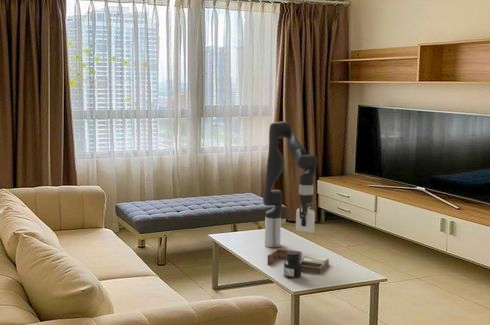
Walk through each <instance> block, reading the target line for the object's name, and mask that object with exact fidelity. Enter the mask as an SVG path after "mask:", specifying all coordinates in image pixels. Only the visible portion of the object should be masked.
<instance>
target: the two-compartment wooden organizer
mask: <svg viewBox="0 0 490 325" xmlns="http://www.w3.org/2000/svg"><path fill="white" fill-rule="evenodd" d="M300 262H301V263H302V272H304V273H311V274H318V275H320V274H322V273H323V271H325V270H326V268H327V267H328V266H329V264H330V258H323V257H315V256H308V255H305V256H303V257H302V258H301V261H300Z"/></svg>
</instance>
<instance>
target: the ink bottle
mask: <svg viewBox="0 0 490 325" xmlns="http://www.w3.org/2000/svg"><path fill="white" fill-rule="evenodd" d="M300 252H301V251H300ZM300 252H298V250H292V251H287V252H286V259H285V261H284V263H283V276H284V277H286V278H288V279H297V278H301V277H302V274H303V273H302V263H301V262H300V261H299V260H300Z"/></svg>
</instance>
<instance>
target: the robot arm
mask: <svg viewBox="0 0 490 325" xmlns="http://www.w3.org/2000/svg"><path fill="white" fill-rule="evenodd" d="M268 134H269V135H268V154H267V161H266V162H267V163H266V175H265V183H264V188H263V189H264V190H263V195H262V203H263V205H265V206H268V207H271V206H272V207H273V208H271V209H268V210H266V211H265V218H264V222H265V223H264V246H265V247H266V248H278V247H280V246H281V239H282V238H281V236H282V235H281V231H282V230H281V228H282V212H283V211H282V209H283V206H282V205H283V192H282V190H280V189H273V185H274V184H275V182H276V181H277V180H278V178H280V176H281V174H282V172H283V170H284V157H283V155H282V153H281V151H280V149H279V147H278V139H285V138H286V139H287V140H288V145H287V147H288V150H289V152H290V154H291V155H292V156H293V157H294V160H295V164H296V165H297V168H300V169H302V170H303V169H306V170H305V171H304V172H302V173H300V174H299V186H298V203H301V206H300V207H299V208H298V209H299V212H300V219H302V222H301V226H306V215H307V211H308V209H311V210H312V206H313V204H312V203H313V202H314V176H315V172H316V170H317V166H318V158H317V157H316V155H314V154H307V149H306V148H305V146H303V144H301V143H300V140H299V139H298V138H297V135H296V133H295V132H294V130H293V128H292V126H291V125H290V123H289V122H288V121H284V120H283V121H272V122H271V123H270V125H269V132H268ZM305 212H306V213H305Z"/></svg>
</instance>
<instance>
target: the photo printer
mask: <svg viewBox="0 0 490 325" xmlns="http://www.w3.org/2000/svg"><path fill="white" fill-rule="evenodd" d="M295 211H296V214H295V231H299V232H304V233H309V234H313V233H315V224H316V223H315V222H316V219H315V218H316V212H315V210H313V209H312V208H311V209H308V211H307V215H306V226H301V222H302V219H300V212H299V208H297V209H296V210H295ZM305 213H306V212H305Z"/></svg>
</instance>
